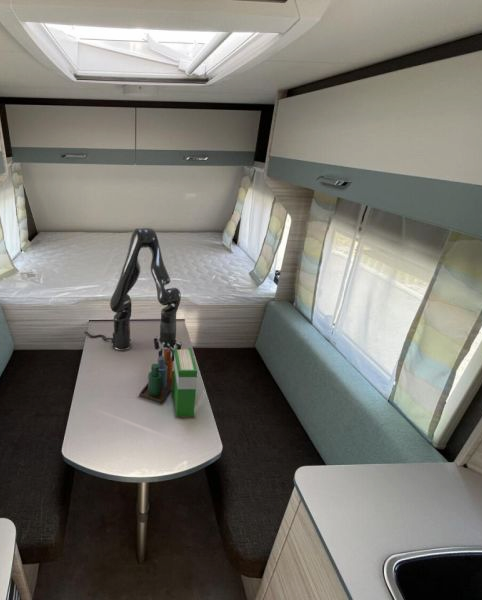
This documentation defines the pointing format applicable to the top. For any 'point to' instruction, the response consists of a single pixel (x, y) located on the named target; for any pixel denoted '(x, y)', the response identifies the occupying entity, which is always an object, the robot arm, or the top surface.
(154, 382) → the green bottle
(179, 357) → the hardback book
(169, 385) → the tray
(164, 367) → the slate bottle
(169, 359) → the amber bottle
